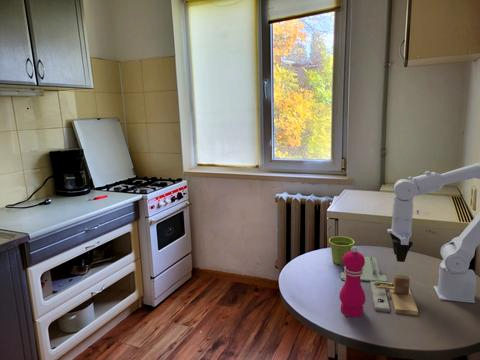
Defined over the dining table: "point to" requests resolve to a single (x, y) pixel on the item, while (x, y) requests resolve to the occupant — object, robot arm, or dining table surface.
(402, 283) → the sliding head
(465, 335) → the dining table surface
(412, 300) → the trammel beam
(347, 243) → the plant pot
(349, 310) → the pepper mill
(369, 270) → the metal bracket
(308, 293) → the dining table surface
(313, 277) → the dining table surface
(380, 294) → the bolt strip
